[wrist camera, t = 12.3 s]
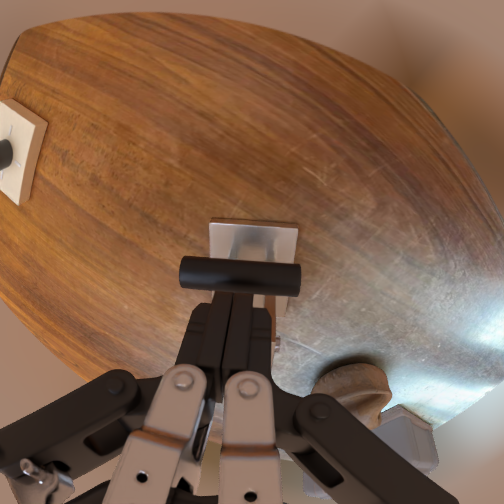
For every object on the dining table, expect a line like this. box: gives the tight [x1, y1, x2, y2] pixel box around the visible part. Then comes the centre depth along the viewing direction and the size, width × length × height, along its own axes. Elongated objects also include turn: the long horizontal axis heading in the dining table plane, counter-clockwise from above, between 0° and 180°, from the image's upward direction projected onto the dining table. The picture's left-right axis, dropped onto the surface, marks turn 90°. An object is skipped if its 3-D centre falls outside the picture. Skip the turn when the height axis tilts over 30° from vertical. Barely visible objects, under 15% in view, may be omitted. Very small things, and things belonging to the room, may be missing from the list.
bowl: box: [311, 363, 392, 430], centre depth 38 cm, size 18×14×10 cm
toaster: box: [303, 405, 439, 499], centre depth 52 cm, size 30×36×18 cm
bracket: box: [209, 218, 298, 369], centre depth 26 cm, size 12×9×13 cm
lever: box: [179, 256, 301, 297], centre depth 18 cm, size 13×6×2 cm, turn 178°
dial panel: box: [0, 99, 48, 206], centre depth 23 cm, size 12×10×3 cm
